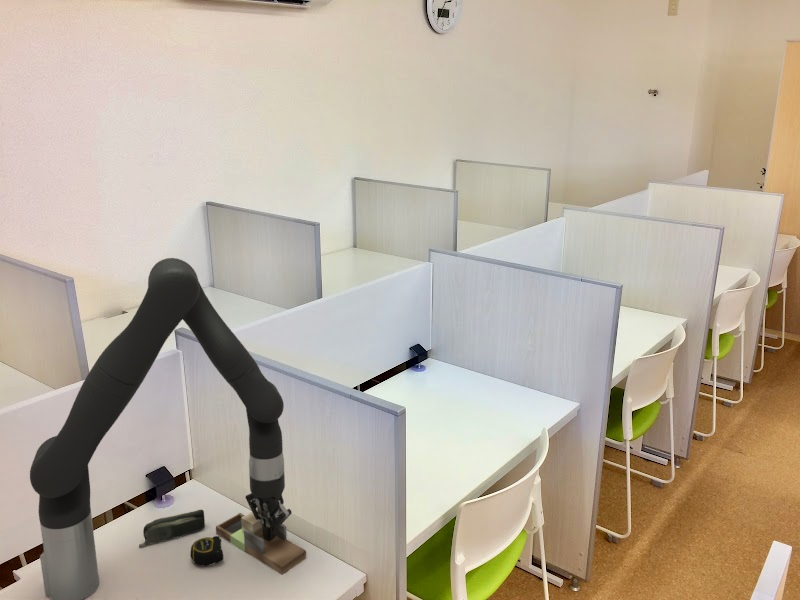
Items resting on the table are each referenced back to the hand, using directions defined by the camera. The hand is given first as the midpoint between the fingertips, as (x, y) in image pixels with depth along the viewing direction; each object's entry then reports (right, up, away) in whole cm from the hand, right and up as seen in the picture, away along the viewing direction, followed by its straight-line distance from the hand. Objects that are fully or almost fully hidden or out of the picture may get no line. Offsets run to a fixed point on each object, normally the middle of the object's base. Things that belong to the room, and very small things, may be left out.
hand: (269, 538), depth 153 cm
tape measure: (-13, -4, -2) cm, 13 cm away
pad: (-5, -2, +4) cm, 7 cm away
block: (-4, 0, +4) cm, 6 cm away
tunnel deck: (-3, -2, +2) cm, 4 cm away
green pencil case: (-24, -2, +5) cm, 24 cm away
